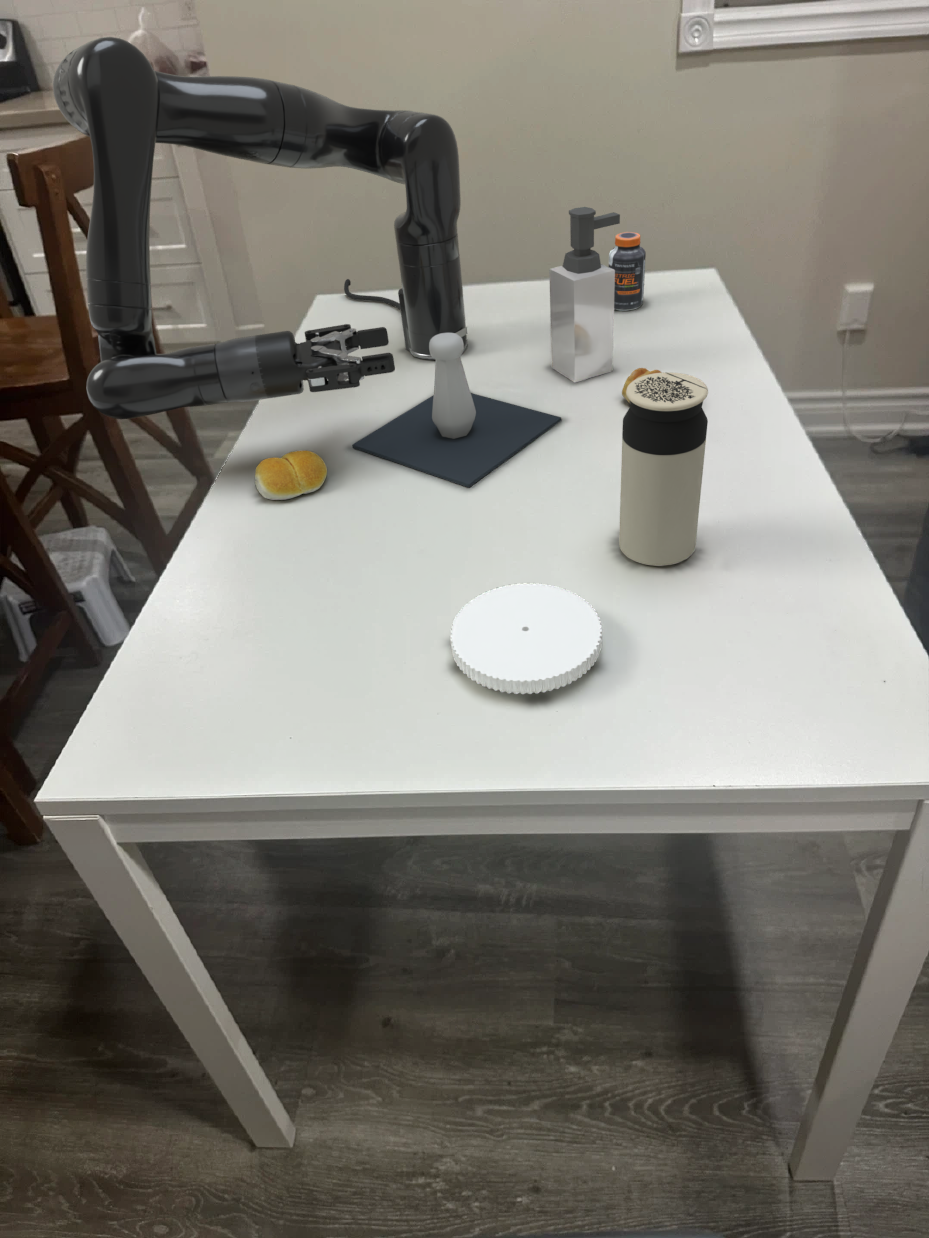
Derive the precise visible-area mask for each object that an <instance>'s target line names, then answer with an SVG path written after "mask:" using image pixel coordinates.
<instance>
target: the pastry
mask: <svg viewBox="0 0 929 1238" xmlns="http://www.w3.org/2000/svg"><path fill="white" fill-rule="evenodd" d="M654 373H663V372H662V371H661V370H659V369H653V370H649V369H647V367H638V368H636V369H634V370H632V372H631V373H630V375H628V377H627V378H626V380H625V382H624V384H623V387H622V389H621V395H622V396H623V397H624V399H625V400H626V401H627V402H628V404H630V400H629V399H628V397H627V395H626V390H627V387H628V385H629V384H630V383H631V382H632V381H634V380H635V379H637V378H639V377H642V376H645V375H649V374H654Z"/></svg>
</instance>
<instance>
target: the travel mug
mask: <svg viewBox="0 0 929 1238" xmlns="http://www.w3.org/2000/svg"><path fill="white" fill-rule="evenodd" d="M708 394H709V388H708V386H707V384H706V383H705V382H704V381H703V380H701V379H700V378H698V377H696V376H693V375H689V374H686V373H682V372H670V371H669V372H667V371H665V372H662V373H654V374H649V375H645V376H642V377H639V378H637V379H635V380H634V381H632V382H631V383H630V384H629V385H628V387H627V390H626V395H627V397H628V399H629V400H630V403H629V408H628V409H627V411H626V413H625V414H624V416H623V418H622V432H621V434H622V436H621V462H620V463H621V465H620V466H621V467H620V468H621V469H620V471H621V472H620V498H619V499H620V500H619V501H620V502H619V531H618V534H619V535H618V547H619V549H620V551H621V552H622V554H623V555H624V556H626V557H627V558H628V559H630V560H632V561H634V562H636V563H638V564H642V565H647V566H654V567H663V566H671V565H675V564H679V563H682V562H683V561H686V560H687V559H688V558H690V557H691V556H692V554H694V552H695V549H696V545H697V535H698V524H699V514H700V506H701V505H700V503H701V495H702V485H703V475H704V474H703V473H704V465H705V464H704V463H705V454H706V453H705V452H706V444H707V433H708V423H709V420H708V417H707V414H706V413H705V411H704V409H703V404H704V401H705V400H706V398H707V397H708Z"/></svg>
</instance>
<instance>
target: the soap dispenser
mask: <svg viewBox="0 0 929 1238" xmlns="http://www.w3.org/2000/svg"><path fill="white" fill-rule="evenodd" d="M596 213H597V210H595V209H594V208H592V207H587V206H580V207H574V208H572V209H570V210H568V215H569V217H570V219H569V220H570V224H569V225H570V231H569V233H570V247H571V248H572V250H570V251H568V252H565V254H564V258H563V262H562V265H558V266H555V267H551V268H548V271H549V277H548V278H549V313H550V314H549V318H550V320H549V321H550V357H551V362H550V363H551V369H553V370H554V371H555V372H558V373H559V374H560V375H562V376H564V377H565V378H566V379H568V380H569V381H571V382H573V383H574V384H576V383H579V382H582V381H585V380H588V379H591V378H595V377H598V376H601V375H604V374H608V373H610V372H613V371H614V370H613V367H614V324H615V309H614V288H615V270H614V269H612V268H609V266H607V265H605V264H603V263H601V258H600V256H601V255H600V253H599V252H598V251H596V250H594V249H591V248H594V247H595V230H598V229H602V228H607V227H611V226H615V225H619V224H621V214H620V213H617V212H610V213H605V214H602V215H601V214H600V215H598V216H595V215H596Z"/></svg>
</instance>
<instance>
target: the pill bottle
mask: <svg viewBox="0 0 929 1238" xmlns="http://www.w3.org/2000/svg"><path fill="white" fill-rule="evenodd" d="M614 245H615V246H614V247H613V248H612V249H610V251H609V254H608V267H609V268H612V269H614V270H615V288H614V311H622V312H623V311H625V312H627V311H633V310H636V309H639V308H640V307H642V306H643V304H644V297H645V296H644V295H645V279H646V278H645V277H646V276H645V275H646V257H647V256H646V255H647V254H646V250H645V249H644V247H642V246H641V234H640V233H639V232H634V231H624V232H620V233H617V234H616V235H615V238H614Z"/></svg>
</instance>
